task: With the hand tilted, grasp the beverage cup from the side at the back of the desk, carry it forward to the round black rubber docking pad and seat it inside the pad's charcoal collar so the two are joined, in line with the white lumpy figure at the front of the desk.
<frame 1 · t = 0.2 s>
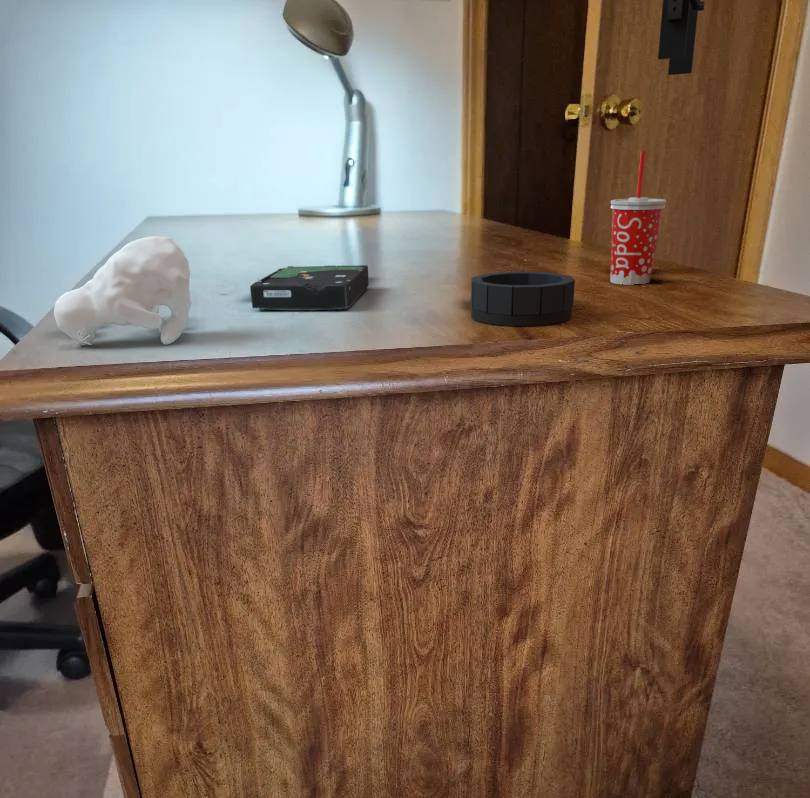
hand: (675, 66, 91), 23 cm above the table, tool pointing down, fingers open, 13 cm apart
white lumpy figure: (131, 343, 70), on the table
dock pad: (520, 316, 77), on the table
beverage cup: (629, 283, 94), on the table
disk drive: (314, 301, 88), on the table
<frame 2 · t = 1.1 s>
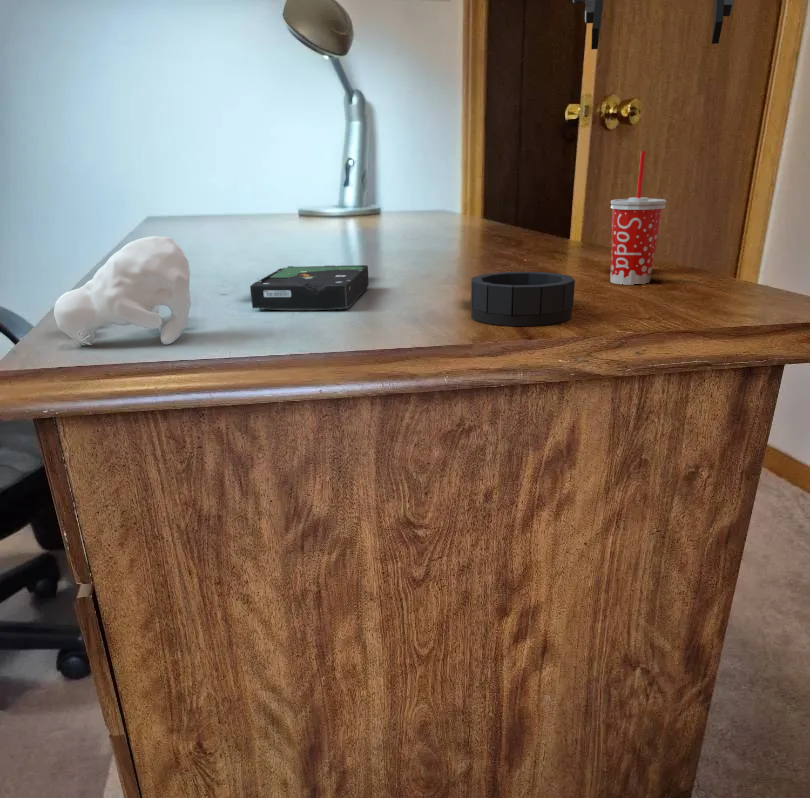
hand: (654, 36, 91), 26 cm above the table, tool tilted 45°, fingers open, 13 cm apart
nothing on the table moved.
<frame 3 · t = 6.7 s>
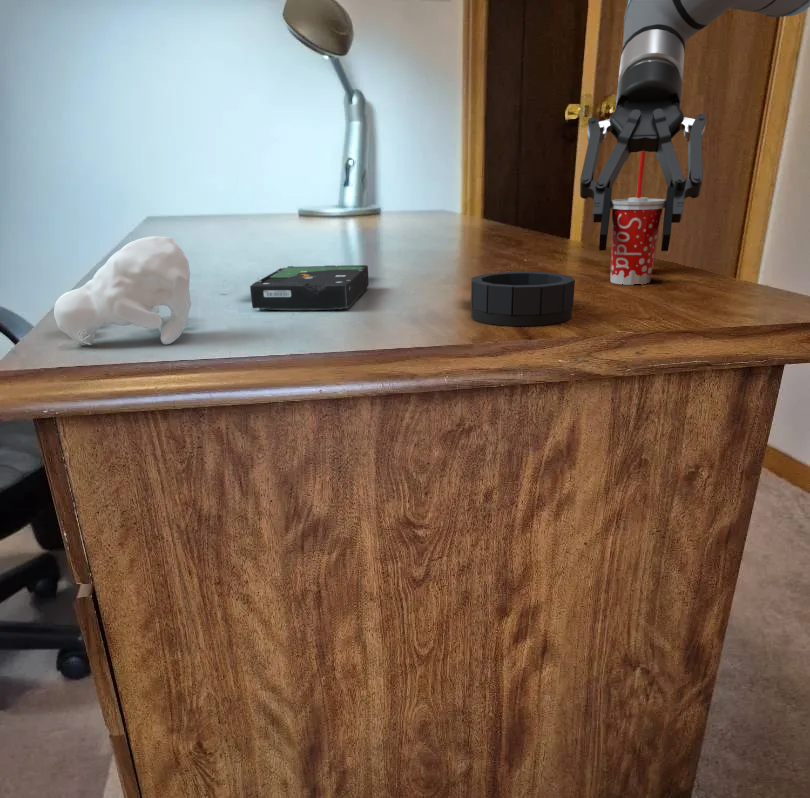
hand: (634, 242, 89), 5 cm above the table, tool tilted 45°, fingers closed on beverage cup, 6 cm apart
beverage cup: (629, 283, 94), on the table, touching gripper
everything else where it was.
when the fingers open (6 cm above the table, at t = 16.2 s): beverage cup stays where it is, resting on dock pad.
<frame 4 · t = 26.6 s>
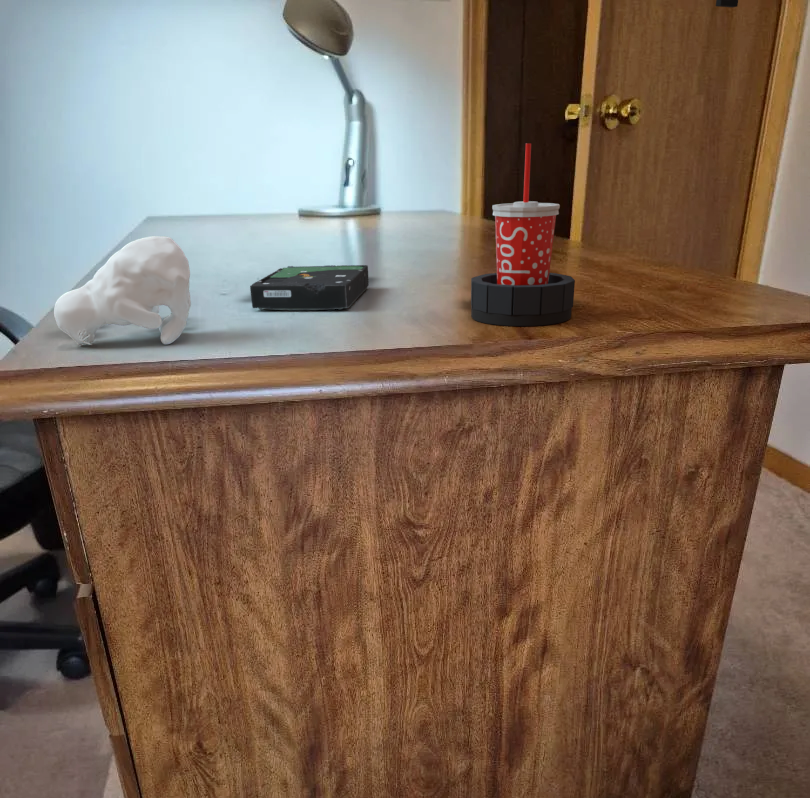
beverage cup: (521, 307, 76), point 1 cm above the table, touching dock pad
everything else where it was.
at the end: beverage cup 0.1 cm off-centre on the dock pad, point 0.8 cm above the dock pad's base; beverage cup tilted 0° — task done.
